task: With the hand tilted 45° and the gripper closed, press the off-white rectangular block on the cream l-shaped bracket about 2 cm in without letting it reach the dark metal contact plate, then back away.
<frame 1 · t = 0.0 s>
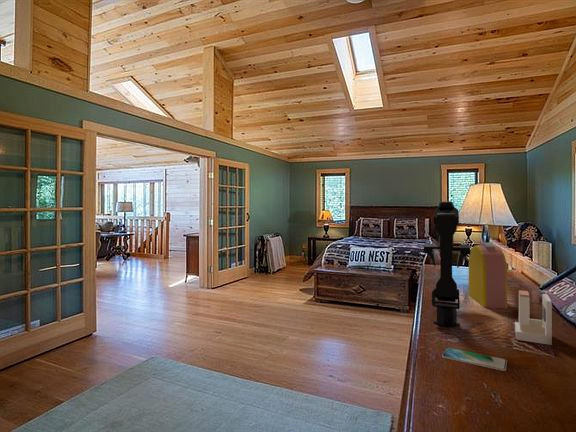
hand: (446, 266, 154), 15 cm above the table, tool pointing down, fingers open, 9 cm apart
off-white rectangular block: (523, 309, 111), point 8 cm above the table, slide at 0.0 cm
cream l-shaped bracket: (519, 334, 111), on the table
smartphone: (473, 361, 93), on the table
yellow tall block: (486, 301, 153), on the table
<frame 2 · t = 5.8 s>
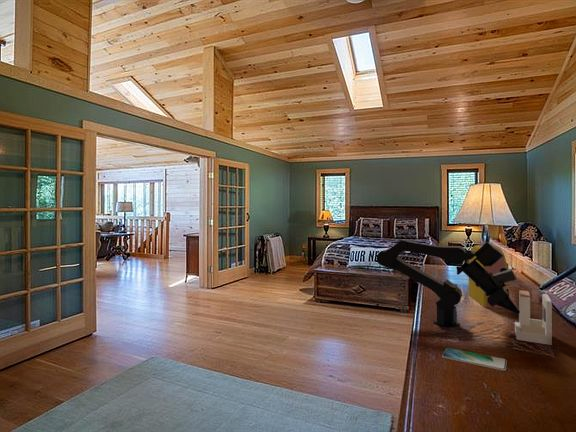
hand: (518, 312, 111), 7 cm above the table, tool tilted 45°, fingers closed, pressing on off-white rectangular block
off-white rectangular block: (524, 309, 111), point 8 cm above the table, slide at 0.2 cm, touching gripper
everything else where it was.
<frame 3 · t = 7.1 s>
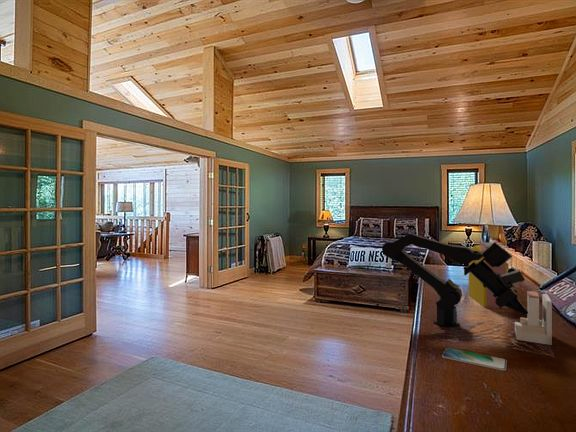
hand: (527, 313, 110), 7 cm above the table, tool tilted 45°, fingers closed
off-white rectangular block: (533, 310, 109), point 8 cm above the table, slide at 2.4 cm
everything else where it was.
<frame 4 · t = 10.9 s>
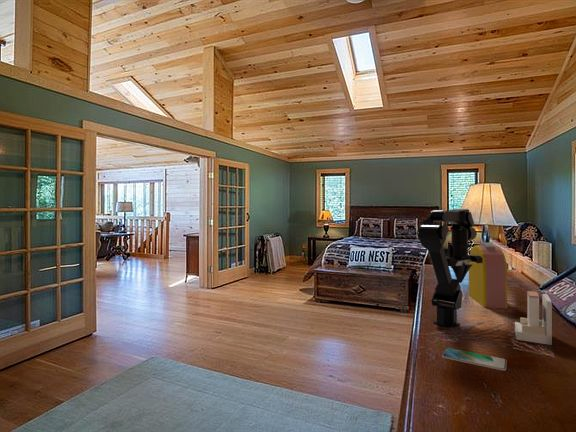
hand: (459, 282, 131), 13 cm above the table, tool pointing down, fingers closed
nothing on the table moved.
at the end: off-white rectangular block slide at 2.4 cm; yellow tall block moved 0.2 cm from its start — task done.
